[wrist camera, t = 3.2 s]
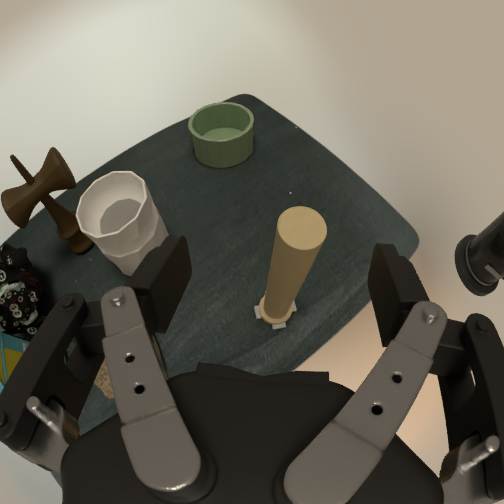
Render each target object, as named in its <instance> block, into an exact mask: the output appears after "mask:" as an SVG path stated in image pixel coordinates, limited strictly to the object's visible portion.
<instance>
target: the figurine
mask: <svg viewBox="0 0 504 504" xmlns="http://www.w3.org/2000/svg"><path fill="white" fill-rule="evenodd" d="M5 242H6V241H5ZM5 242H4V244H3V246H2V248H1V250H0V332H1V331H3V332H6V333H9V334H17V333H26V334H27V335H28V336H29V337H31V338H33V337H34V335H35V334H36V332H37V331H38V329H39V323H40V321H44V320H45V319H46V316H38V312H37V311H36V308H37V307H38V306H39V305H40V304H41V303H42V302H43V301H44V300H45V297H46V294H45V292H44V290H43V289H42V288H41V287H40V286H41V284H40V282H39V281H38V278H37V276H36V274H35V271H34V269H33V268H32V263H31V262H30V261H29V259H28V257H27V250H26V248H24V247H22V248H18V249H16V248H14V247H11V246H10V245H9V244H5ZM37 316H38V317H37ZM34 320H35V321H34ZM33 321H34V323H33V324H31V323H32V322H33Z"/></svg>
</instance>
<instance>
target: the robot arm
mask: <svg viewBox="0 0 504 504" xmlns="http://www.w3.org/2000/svg"><path fill="white" fill-rule="evenodd" d="M464 259H465V264H466V267H467V270H468V272H469V274H470V275H471V277H472V278H473V280H474V281H475V282H476V283H478V284H479V285H481V286H484V287H488V286H490V285H492V284H493V283H495V282H496V281H498V280H499V279H501V278H502V279H503V280H504V212H503V213H502V214H501V215H500V216H499V217H498V218H497V219H495V220H494V221H493V222H492V223H491V224H490V225H489V226H488V227H487V228H486V229H484V230H483V231H482V232H481V233H480V234H479V235H477V236H476V237H475V238H474V239H472V240H471V241H469V242H468V243H467V245H466V247H465V251H464ZM191 272H192V268H191V262H190V256H189V251H188V246H187V241H186V238H185V237H184V236H167V237H166V238H165V240H164V241H163V242H162V244H161V245H160V246H159V247H155V248H154V249H152V250H151V251H150V252H148V253H147V254H146V256H145V257H144V258H143V260H142V262H141V263H140V264H139V265H138V268H136V270H135V271H134V272H133V274H132V275H131V277H130V278H129V279H128V281H127V282H126V284H125V285H124V286H122V287H116V288H114V289H111V290H110V291H108V292H107V293H106V294H105V295H104V296H103V297H102V299H101V301H96V302H88V303H86V301H85V299H84V297H83V296H82V295H81V294H80V293H70V294H67V295H65V296H63V297H62V298H61V299H60V300H59V301H58V302H57V303H56V304H55V306H54V307H53V309H52V310H51V311H50V313H49V314H48V316H47V317H46V319H45V320H44V322H43V323H42V325H41V326H40V328H39V329H38V331H37V332H36V334H35V335H34V337H33V338H32V340H31V341H30V343H29V345H28V346H27V348H26V349H25V351H24V353H23V354H22V356H21V358H20V359H19V361H18V363H17V364H16V366H15V368H14V370H13V371H12V373H11V375H10V377H9V379H8V380H7V382H6V384H5V386H4V388H3V390H2V392H1V394H0V441H1V442H3V443H4V444H5V445H7V446H8V447H9V448H10V449H11V450H12V451H14V452H15V453H17V454H18V455H20V456H22V457H23V458H25V459H27V460H28V461H30V462H31V463H34V464H36V465H38V466H40V467H42V468H43V469H45V470H48V471H55V472H57V473H59V474H60V475H61V482H62V491H63V502H62V504H493V503H495V502H498V501H500V500H503V499H504V347H503V344H502V342H501V339H500V337H499V335H498V333H497V330H496V328H495V326H494V324H493V323H492V321H491V320H490V319H489V318H487V317H486V316H484V315H481V314H478V313H475V314H471V315H469V317H468V318H467V320H466V322H465V323H463V322H459V321H455V320H451V319H448V318H447V315H446V313H445V311H444V310H443V309H442V308H441V307H440V306H439V305H437V304H435V303H433V302H430V300H429V298H428V296H427V293H426V291H425V289H424V287H423V285H422V283H421V281H420V280H419V277H418V274H417V273H416V270H415V268H414V267H413V265H412V263H411V262H410V261H409V260H408V259H407V258H405V257H404V256H399V254H398V252H397V250H396V248H395V246H394V244H382V243H377V244H376V245H375V247H374V251H373V256H372V261H371V265H370V270H369V274H368V288H369V292H370V296H371V300H372V304H373V307H374V311H375V316H376V319H377V323H378V328H379V332H380V337H381V342H382V346H383V347H387V348H386V350H385V351H384V353H383V354H382V356H381V357H380V359H379V360H378V362H377V363H376V364H375V366H374V367H373V369H372V370H371V372H370V373H369V374H368V376H367V377H366V379H365V380H364V381H363V383H362V384H361V385H360V387H359V388H358V389H357V391H356V392H354V391H352V390H350V389H349V388H347V387H345V386H343V385H340V384H338V383H335V382H331V381H329V372H314V371H313V372H312V371H294V372H288V373H282V374H275V375H268V376H259V375H255V374H252V373H249V372H246V371H243V370H240V369H237V368H234V367H231V366H224V365H216V364H208V363H200V362H199V363H198V366H197V370H196V371H193V372H187V373H183V374H179V375H177V376H174V377H172V378H170V379H169V377H168V375H167V372H166V370H165V368H164V365H163V363H162V360H161V358H160V355H159V353H158V350H157V348H156V345H155V343H154V340H153V338H152V337H153V335H154V333H155V332H157V333H164V334H165V333H166V331H167V328H168V326H169V324H170V322H171V320H172V317H173V315H174V313H175V311H176V309H177V306H178V304H179V302H180V300H181V298H182V296H183V294H184V291H185V289H186V287H187V285H188V283H189V281H190V278H191ZM72 340H73V342H74V343H75V345H76V346H75V348H74V350H73V352H72V354H71V355H70V357H69V359H68V361H67V363H66V364H65V361H64V355H65V352H66V350H67V348H68V346H69V345H70V343H71V341H72ZM104 359H106V364H107V369H108V373H109V377H110V382H111V386H112V390H113V394H114V398H115V401H116V405H117V409H118V413H117V414H115V415H113V416H112V417H110V418H109V419H107V420H106V421H104V422H102V423H101V424H99V425H98V426H96V427H94V428H93V429H91V430H90V431H88V432H86V433H85V434H83V435H81V436H80V435H79V425H78V422H77V421H78V419H79V416H80V414H81V411H82V409H83V407H84V404H85V402H86V399H87V397H88V395H89V392H90V390H91V388H92V385H93V383H94V381H95V379H96V376H97V374H98V372H99V370H100V368H101V365H102V363H103V361H104ZM471 370H472V372H473V375H474V379H475V386H474V382H473V378H472V375H471ZM428 373H431V374H435V375H437V376H438V380H439V386H440V391H441V396H442V401H443V407H444V413H445V419H446V427H447V434H448V443H449V453H448V454H447V455H446V456H445V458H444V459H443V462H442V466H441V470H440V473H439V475H440V477H439V478H438V477H437V476H436V474H435V473H434V472H433V471H432V470H431V469H430V468H429V467H428V466H427V465H426V464H425V463H424V462H423V461H422V460H421V459H420V458H419V457H418V456H417V455H416V454H415V453H414V452H413V451H412V450H411V449H410V448H409V447H408V446H407V445H406V444H405V443H404V442H403V441H402V440H401V439H400V438H399V437H398V436H397V434H396V432H397V430H398V429H399V427H400V425H401V424H402V422H403V420H404V419H405V417H406V415H407V413H408V412H409V410H410V408H411V406H412V404H413V403H414V401H415V399H416V397H417V395H418V393H419V391H420V389H421V387H422V385H423V383H424V381H425V379H426V377H427V375H428Z"/></svg>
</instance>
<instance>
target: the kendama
mask: <svg viewBox="0 0 504 504" xmlns="http://www.w3.org/2000/svg"><path fill="white" fill-rule="evenodd" d="M10 158H11V161H12V162H13V164H14V165H15V167H16V168H17V170H18V171H19V172H20V174H21V175H22V176H23V178H24V179H25V180H26V182H27V183H25V184H23V185H21V186H19V187H15V188H11V189H7V190H5V191H4V192H2V194H1V202H2V206H3V208H4V210H5V212H6V214H7V216H8V217H9V218H10V220H11V221H12V222H13V223H14V224H15V225H17V226H18V227H20V228H23V229H24V228H25V227H26V226H27V223H28V221H29V218H30V216H31V213H32V211H33V209H34V208H35V206H36V205H37V204H38V202H39V201H41V202H42V203H43V204H44V206H45V207H46V209H47V210H48V212H49V213H50V215H51V216H52V218H53V219H54V221H55V223H56V224H57V234H58V236H59V237H60V238H62V239H65V240H66V239H67V240H68V245H69V248H70V249H71V251H72V252H74V253H76V254H79V253H83V252H84V251H86V250H88V249H89V247H90V246H91V245H92V244H93V241H92V240H91V239H90V238H89V237H88V236H86V235H85V234H84V233H83V232H82V231H81V229H80V226H79V223H78V221H77V218H76V211H73V212H70V211H68V210H67V209H65V208H64V207H63V206H62V205H60V204H59V203H58V202H57V201H56V200H54V199H53V198H52V197H51V196H50V195H49V193H51V192H53V191H57V190H65V189H73V188H75V187H76V182H75V179H74V176H73V174H72V173H71V171H70V169H69V167H68V165H67V163H66V162H65V160H64V159H63V157H62V156H61V154H60V153H59V152H58V150H57V149H56V148H54V147H52V148H51V149H50V150H49V152H48V154H47V157H46V159H45V161H44V164H43V166H42V168H41V170H40V171H39V172H38V173H37V174H36V175H35V176H34V177H32V176H31V174H30V173H29V172H28V171H27V170H26V168H25V167H24V166H23V165H22V164H21V162H20V161H19V160H18V159H17V158H16V157H15V156H14V155H11V156H10Z"/></svg>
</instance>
